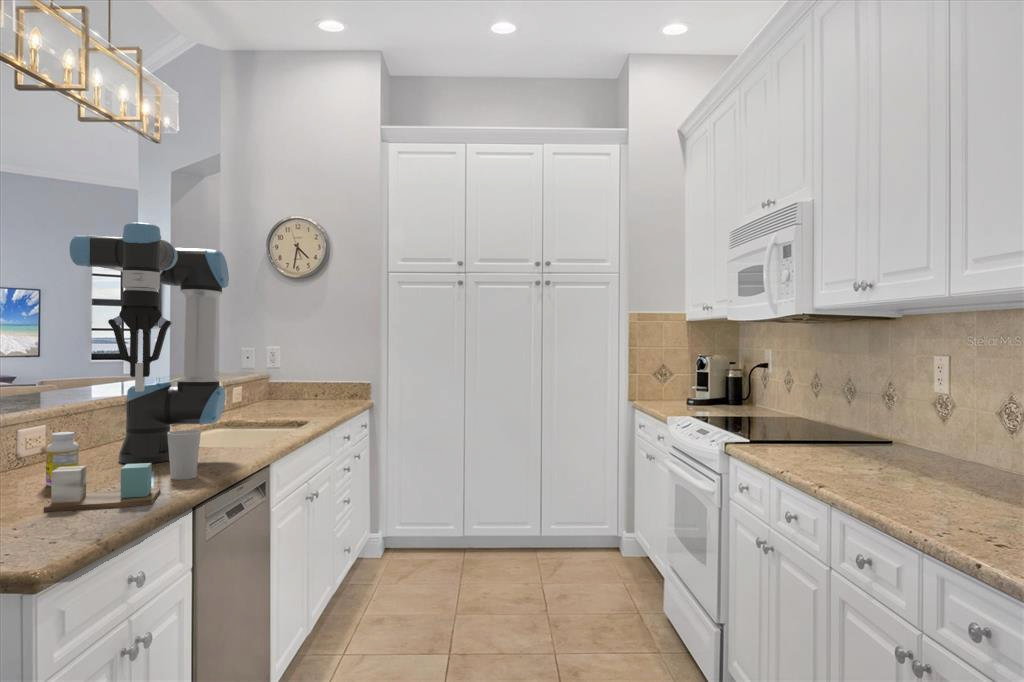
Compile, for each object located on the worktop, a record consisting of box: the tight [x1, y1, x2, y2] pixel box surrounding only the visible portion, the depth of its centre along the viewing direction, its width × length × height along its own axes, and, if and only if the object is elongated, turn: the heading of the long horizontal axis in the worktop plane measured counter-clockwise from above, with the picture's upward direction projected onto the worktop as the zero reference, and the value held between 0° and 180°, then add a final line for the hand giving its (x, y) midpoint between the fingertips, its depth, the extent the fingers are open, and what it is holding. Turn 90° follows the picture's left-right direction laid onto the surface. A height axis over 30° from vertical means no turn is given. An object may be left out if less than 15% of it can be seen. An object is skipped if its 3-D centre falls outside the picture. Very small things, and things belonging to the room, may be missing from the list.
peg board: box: [43, 465, 161, 513], centre depth 142 cm, size 12×20×8 cm, turn 111°
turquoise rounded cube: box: [120, 463, 153, 498], centre depth 144 cm, size 5×5×7 cm
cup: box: [167, 429, 202, 481], centre depth 168 cm, size 8×8×12 cm
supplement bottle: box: [45, 431, 80, 487], centre depth 157 cm, size 7×7×13 cm
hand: (139, 390), depth 147 cm, fingers closed
